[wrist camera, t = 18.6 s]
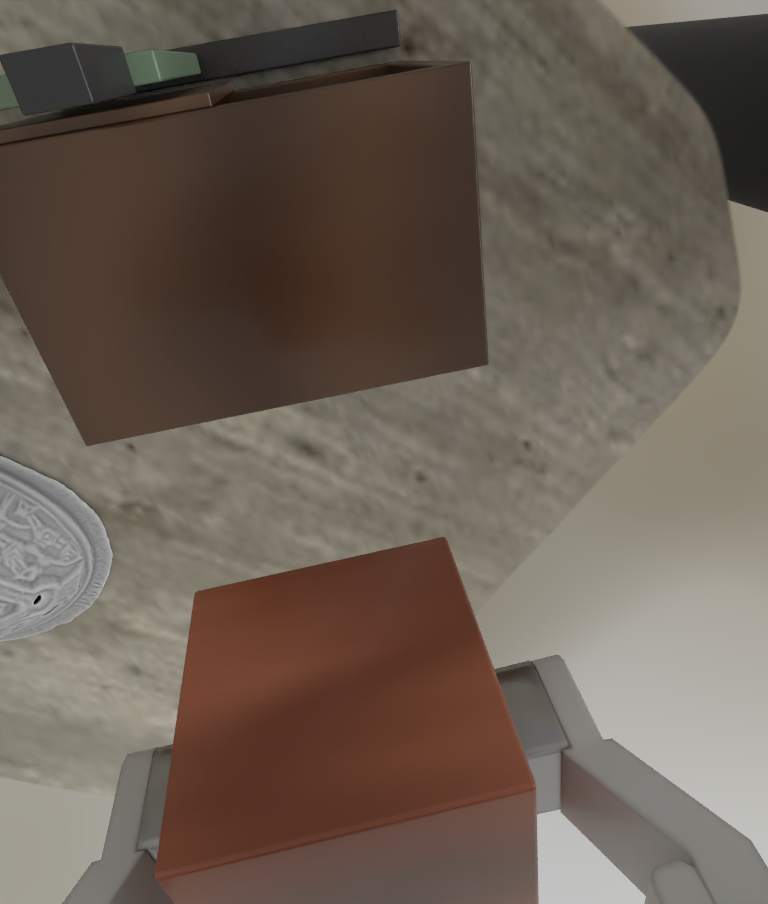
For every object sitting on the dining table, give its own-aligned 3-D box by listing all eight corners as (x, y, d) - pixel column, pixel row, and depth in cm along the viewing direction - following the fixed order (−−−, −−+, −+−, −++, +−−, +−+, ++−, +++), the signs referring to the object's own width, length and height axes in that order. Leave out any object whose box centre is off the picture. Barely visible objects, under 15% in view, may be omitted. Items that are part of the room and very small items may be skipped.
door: (194, 48, 23) (110, 35, 11) (202, 78, 24) (130, 96, 12) (5, 81, 23) (-287, 104, 11) (17, 111, 24) (-248, 163, 12)
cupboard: (395, 10, 24) (467, -20, 15) (424, 273, 30) (489, 365, 21) (44, 72, 24) (-100, 79, 15) (144, 328, 30) (85, 447, 21)
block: (445, 534, 11) (537, 786, 7) (464, 688, 14) (540, 935, 10) (193, 590, 11) (151, 879, 7) (260, 736, 13) (256, 1006, 10)
